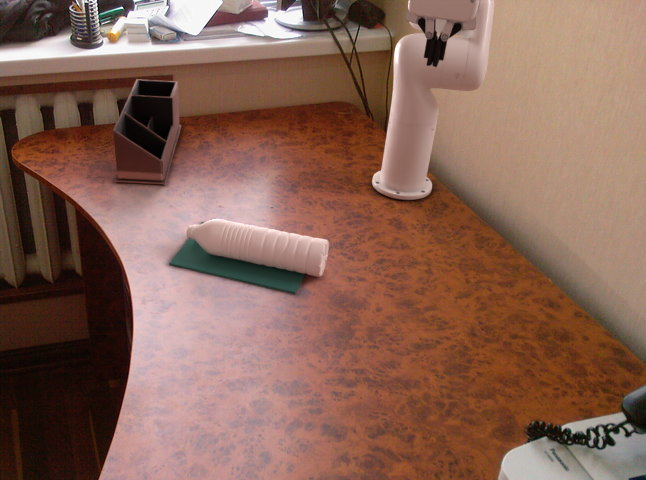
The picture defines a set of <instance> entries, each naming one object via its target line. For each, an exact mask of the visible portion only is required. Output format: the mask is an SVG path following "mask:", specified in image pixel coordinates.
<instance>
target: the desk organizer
mask: <svg viewBox="0 0 646 480" xmlns="http://www.w3.org/2000/svg"><path fill="white" fill-rule="evenodd" d="M179 100H180V99H179V82H178V80H177V81H175V80H174V81H173V80H156V79H139V78H136V79H135V81H134V84H133V86H132V88H131V90H130V93H129V95H128V98H127V99H126V102H125V104H124V106H123V108H122V110H121V112H120V114H119V116H118V118H117V120H116V122H115V125H114V127H113V130H112V135H113V144H114V155H115V156H114V157H115V158H114V159H115V168H116V176H115V178H114V180H113V181H114V182H115V183H129V184H130V183H132V184H147V185H148V184H149V185H163V186H164V185H166V183H167V179H168V177H169V176H168V175H169V172H170V169H171V164H172V161H173V158H174V154H175V150H176V147H177V144H178V141H179V136H180V133H181V130H182V124H180V105H179Z"/></svg>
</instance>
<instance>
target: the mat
mask: <svg viewBox="0 0 646 480" xmlns="http://www.w3.org/2000/svg"><path fill="white" fill-rule="evenodd" d="M203 223H205V222H204V221H201V222H200V224H203ZM169 266H173V267H177V268H182V269H186V270H190V271H194V272H199V273H203V274H207V275H211V276H216V277H220V278H224V279H228V280H233V281H236V282H242V283H247V284H250V285H254V286H258V287H262V288H267V289H272V290H276V291H279V292H285V293H289V294H293V295H296V294H297V292H298V290H299V288H300V286H301V284H302V282H303V280H304V278H305V276H306V274H307V273H305V274H303V273H298V272H296V271H289V270H286V269H279V268H276V267H269V266H265V265H264V264H263V265H259V264H255V263H251V262H246V261H242V260H237V259H233V258H228V257H223V256H216V255H212V254H209V253H208V252H206V251H205V250H204V249H203V248H202V247H201V246H200V245H199V244H198V243H197V242H196V241H195V240H194V239H193V240H191V238H188V239H187V240H186V241H185V242H184V244H183V245H182V247H181V248H180V249H179V250H178V251H177V253H176V254H175V255H174V257H173V258H172V259H171V260H170V261H169Z"/></svg>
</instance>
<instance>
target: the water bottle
mask: <svg viewBox="0 0 646 480" xmlns="http://www.w3.org/2000/svg"><path fill="white" fill-rule="evenodd" d="M186 238H188V239H189V238H191V240H193V239H194V240H195V241H196V242H197V243H198V244H199V245H200V246H201V247H202V248H203V249H204V250H205V251H206V252H208V253H209V254H212V255H216V256H223V257H228V258H233V259H237V260H242V261H246V262H251V263H255V264H259V265H263V264H264V265H265V266H269V267H276V268H279V269H286V270H289V271H296V272H298V273H303V274H305V273H306V274H307V275H309V276H313V277H317V278H321V277H322V276H323V274H324V271H325V269H326V265H327V263H326V262H327V260H328V258H329V257H328V256H329V249H330V242H329V240H328V239H325V238H321V237H312V236H310V235H301V234H299V233H294V232H289V231H281V230H278V229H274V228H271V229H270V228H268V227H263V226H257V225H253V224H247V223H242V222H238V221H232V220H228V219H227V220H226V219H223V218H212V219H209V220H207V221H205V222H204V223H203V224H201V223H196V224H189V225H188V226H187V228H186ZM306 274H305V275H306Z"/></svg>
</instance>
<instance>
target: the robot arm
mask: <svg viewBox="0 0 646 480" xmlns="http://www.w3.org/2000/svg"><path fill="white" fill-rule="evenodd" d="M407 6H408V7H407V10H406V12H405V14H404V20H405V21H408V22H409V25H410V26H411V27H412V28H414V29H415V30H417V31H422V33H421V32H417V33H409V34H406V35H404V36H402V37H401V38H400V39H399V40H398V42H396V45H395V48H394V53H393V81H392V82H393V85H392V96H391V103H390V110H389V118H388V123H387V130H386V137H385V144H384V148H383V149H384V150H383V156H382V163H381V169H380V170H378V171H377V172H375V173H374V174H373V176H372V180H371V184H372V187H373V189H375V190H376V191H377V192H378V193H380V194H382V195H383V196H385V197H388V198H391V199H396V200H403V201H414V200H415V201H416V200H420V199H423V198H426V197H427V196H428V195H430V194H431V192H432V190H433V183H432V180H431V179H430V178H429V177H427V176H428V171H429V167H430V161H431V155H432V151H433V145H434V140H435V136H436V130H437V125H438V120H439V115H440V108H439V107H440V106H439V103H438V100H437V98H436V96H435V94H434V93H433V91H432V89H442V90H450V91H461V92H472V91H476V90H478V89H480V88H481V86H482V85H483V83H484V81H485V79H486V75H487V71H488V65H489V57H490V49H491V48H490V47H491V40H492V30H493V23H494V14H495V0H408V4H407Z"/></svg>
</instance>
